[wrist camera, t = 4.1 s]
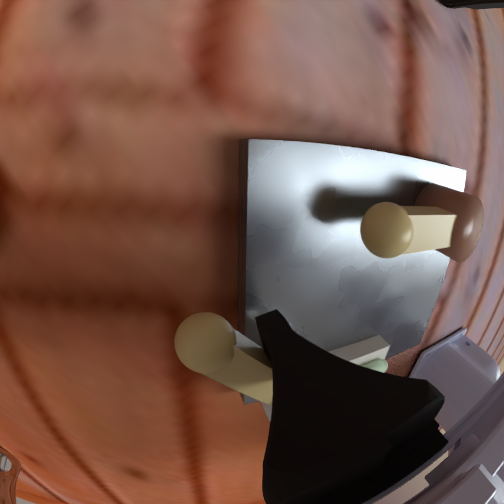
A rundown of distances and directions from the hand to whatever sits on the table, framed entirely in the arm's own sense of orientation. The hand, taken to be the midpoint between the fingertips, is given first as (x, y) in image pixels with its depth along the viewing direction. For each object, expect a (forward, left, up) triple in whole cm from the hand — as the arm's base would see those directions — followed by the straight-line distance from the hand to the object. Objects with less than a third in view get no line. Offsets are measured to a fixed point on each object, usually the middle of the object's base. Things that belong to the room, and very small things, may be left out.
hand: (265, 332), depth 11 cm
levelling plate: (-7, 0, -3) cm, 8 cm away
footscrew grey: (0, +2, -1) cm, 2 cm away
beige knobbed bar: (-8, -4, -2) cm, 9 cm away
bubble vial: (-7, +5, -2) cm, 8 cm away
